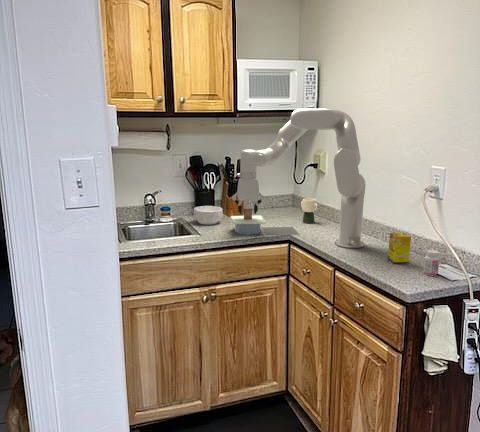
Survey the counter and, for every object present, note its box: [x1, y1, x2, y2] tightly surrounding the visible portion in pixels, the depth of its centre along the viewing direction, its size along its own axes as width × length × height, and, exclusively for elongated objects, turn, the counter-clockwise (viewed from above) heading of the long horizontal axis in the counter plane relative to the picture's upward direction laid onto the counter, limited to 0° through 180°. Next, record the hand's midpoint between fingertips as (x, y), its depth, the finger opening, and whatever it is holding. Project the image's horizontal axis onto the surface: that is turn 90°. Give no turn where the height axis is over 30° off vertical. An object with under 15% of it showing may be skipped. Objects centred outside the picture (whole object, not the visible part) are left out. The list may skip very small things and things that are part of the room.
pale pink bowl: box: [193, 205, 224, 226], centre depth 237 cm, size 15×15×8 cm
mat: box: [260, 226, 301, 236], centre depth 219 cm, size 16×16×1 cm
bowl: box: [234, 224, 261, 236], centre depth 217 cm, size 12×12×6 cm
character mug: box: [300, 197, 319, 224], centre depth 238 cm, size 11×7×13 cm, turn 43°
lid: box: [230, 207, 267, 225], centre depth 216 cm, size 15×15×6 cm
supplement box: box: [387, 232, 412, 265], centre depth 173 cm, size 6×6×11 cm
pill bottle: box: [423, 249, 440, 276], centre depth 159 cm, size 5×5×8 cm
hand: (247, 213), depth 216 cm, fingers open, 6 cm apart
